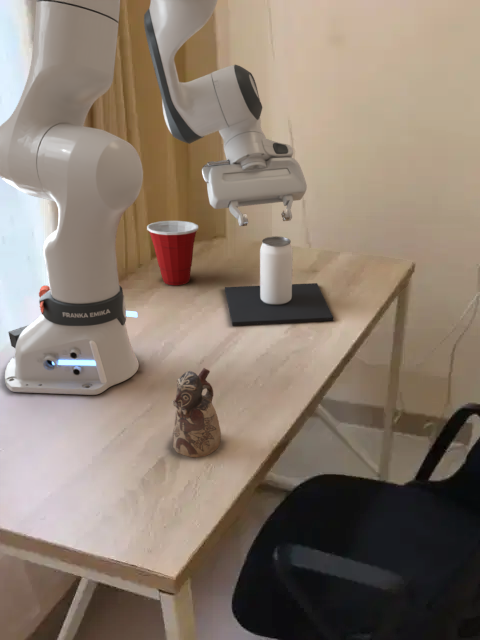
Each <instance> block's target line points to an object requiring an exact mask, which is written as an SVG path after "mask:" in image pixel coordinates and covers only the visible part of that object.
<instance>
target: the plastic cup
mask: <svg viewBox="0 0 480 640" xmlns="http://www.w3.org/2000/svg"><path fill="white" fill-rule="evenodd" d="M198 230H199V225H198V224H196V223H195V222H191V221H184V220H161V221H156V222H151V223H150V224H148V225H147V226H146V231H148V233H149V236H150V238H151V242H152V245H153V248H154V252H155V257H156V260H157V264H158V267H159V271H160V276H161V279H162V280H163V283H164V284H165V285H170V286H183V285H185V284H188V283H189V282H190V279H191V271H192V266H193V256H194V255H193V254H194V245H195V239H196V235H197V231H198Z"/></svg>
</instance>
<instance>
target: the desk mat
mask: <svg viewBox="0 0 480 640" xmlns="http://www.w3.org/2000/svg"><path fill="white" fill-rule="evenodd" d="M224 293H225V297H226V301H227V307H228V312H229V317H230V321H231V325H232V326H234V327H235V326H236V327H237V326H254V325H255V326H258V325H276V324H277V325H279V324H297V323H298V324H299V323H321V322H333V321H334V316H333V313H332V311H331V309H330V307H329V305H328V303H327V301H326V299H325V297H324V295H323V293H322V290H321V288H320V286H319V284H318V283H317V282H313V283H309V282H308V283H292V298H291V300H290V301H289V302H288V303H286V304H282V305H270V304H266V303H264V302H263V301H262V300H261V298H260V285H243V286H242V285H241V286H224Z"/></svg>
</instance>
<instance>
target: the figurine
mask: <svg viewBox="0 0 480 640" xmlns="http://www.w3.org/2000/svg"><path fill="white" fill-rule="evenodd" d="M210 372H211V371H210V369H207V368H206V367H203V368H202V370H201V371H200V372H199V374H197V373H195V372H194V371H191V370H187V371H186V372H184V373H183V374H182V375H181V376H180V377H179V378H178V379H177V380H176V396H175V399H173V400H172V401H171V404H172V406H174V407H175V408H176V410H175V419H174V427H173V431H172V447H173V449H174V450H175V452H176V453H177V454H180V455H183V456H185V457H191V458H201V457H205V456H209V455H210V454H212V453H214V452H215V451H216V450H217V449H218V448H219V447H220V445H221V437H222V432H221V426H220V423H219V422H220V421H219V417H218V414H217V411H216V409H215V406H214V404H213V398H214V389H213V386H212V385H211V383H210V382H209V381H208V380H207V378H208V376H209V374H210ZM205 389H206V393H205V394H204V395H203V392H204V390H205Z"/></svg>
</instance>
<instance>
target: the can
mask: <svg viewBox="0 0 480 640" xmlns="http://www.w3.org/2000/svg"><path fill="white" fill-rule="evenodd" d="M261 242H262V243H261V245H260V247H259V286H260V298H261V300H262V301H263V302H264V303H266V304H270V305H282V304H286V303H288V302H289V301H290V300H291V298H292V284H293V260H294V259H293V253H294V250H293V246H292V244H291V239H289V238H288V237H284V236H278V235H277V236H276V235H275V236H267V237H265V238H263V239H262V240H261Z"/></svg>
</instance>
